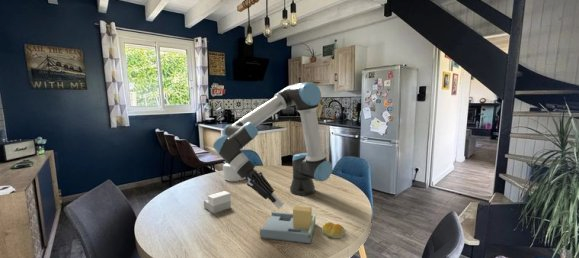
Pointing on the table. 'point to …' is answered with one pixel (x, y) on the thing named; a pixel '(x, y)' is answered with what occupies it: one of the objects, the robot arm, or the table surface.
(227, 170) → the roll of tape
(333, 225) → the bread roll
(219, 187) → the table surface
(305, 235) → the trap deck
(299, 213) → the ochre block
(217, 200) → the foam block
